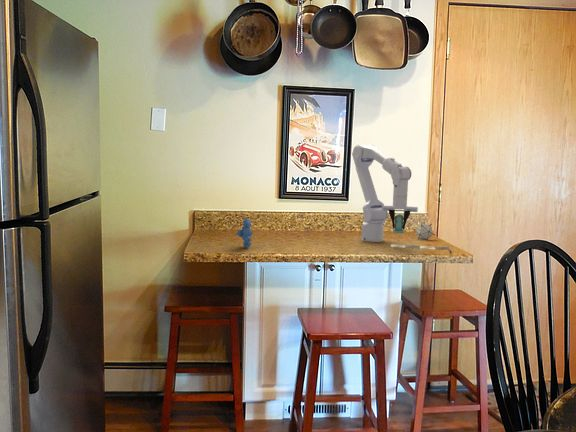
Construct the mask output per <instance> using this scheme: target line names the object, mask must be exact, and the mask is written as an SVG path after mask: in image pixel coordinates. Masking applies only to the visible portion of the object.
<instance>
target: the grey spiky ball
mask: <svg viewBox="0 0 576 432" xmlns="http://www.w3.org/2000/svg"><path fill="white" fill-rule="evenodd" d="M432 225H433V224H432V223H430V224H425V223H423V222H421V223H420V225H419V226H417V228H413V231H415V233H416V236H417V240H424V241H425V240H429V239H430V238H431V237H432V236H435V235H436V234H435V233H434V232H433V228H432Z"/></svg>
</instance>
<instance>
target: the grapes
mask: <svg viewBox="0 0 576 432" xmlns="http://www.w3.org/2000/svg"><path fill="white" fill-rule="evenodd" d="M242 222H243V223H242V225H243V226H242V228H241V229H238V230H237V232H236V235H237V236H238V237H239V238H241V239H242V240H243V243H242V245H243V247H244V248H246V249H249V248H250V246H251V245H252V243H251V241H252V238H251V237H252V235H253V234H254V232H253V231H252V230H251V226H252V221H251V220H250V219H249V218H245V219H244V220H243V221H242Z"/></svg>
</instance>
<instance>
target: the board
mask: <svg viewBox="0 0 576 432" xmlns="http://www.w3.org/2000/svg"><path fill="white" fill-rule="evenodd" d="M390 247H391V248H400V249H401V248H403V249H404V248H406V249H423V250H424V249H425V250H442V251H448V252H449V254H452V250H451V248H450V247H449V246H429V245H409V244H390Z"/></svg>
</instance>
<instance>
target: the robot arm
mask: <svg viewBox="0 0 576 432" xmlns="http://www.w3.org/2000/svg"><path fill="white" fill-rule="evenodd" d="M351 155H352V159H353V161H354V165H355V170H356V175H357V178H358V180H359V185H360V187H361V190H362V193H363V197H364V198H363V199H364V200H365V204H364V205H363V207H362V211H363V214H362V215H363V219H364V221H365V222H363V221H362V226H361V235H360V236H361V237H360V239H361V242H372V243H381V242H383V241H384V223H386V220H387V219H388V216H389V217H390V219H391V220H390V221H391V222H392V223H391V224H392V229H395V216H396V212H403V218H404V219H403V230H405V229H406V228H405V227H406V224H407V222H408V219H409V217H410V214H411V213H412V212H413V213H418V210H419V209H418V208H419V207H418V206H408V192H409V191H408V187H409V180H411V177H412V170H411V169H410V167H409V166H403V165H402V164H401V163H399V162H398V161H396V160H395V157H386V155H384V153H382V152H381V151H380V150H379V148H378V146H375V145H374V144H371V145H368V144H366V145H365V144H361V145H360V144H356V145H354V147H353V150H352V152H351ZM374 161H375V162H377V163H379V164H381V166H382V169H383V170H384V171H385V172H387V174H389V175H390V177H391V179H392V185H393V189H392V190H393V192H392V194H393V195H392V205H385V203H383V201H381V200H380V199H379V198H378V195H377V192H376V188H375V185H374V181H373V179H372V176H371V172H370V169H369V167H370V166H372V164H373V163H374Z"/></svg>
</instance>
